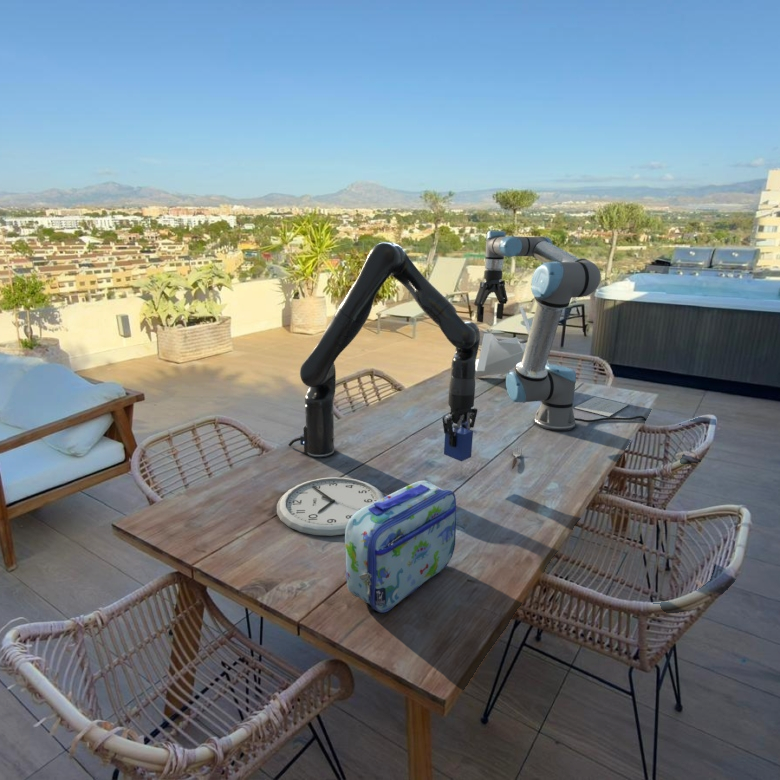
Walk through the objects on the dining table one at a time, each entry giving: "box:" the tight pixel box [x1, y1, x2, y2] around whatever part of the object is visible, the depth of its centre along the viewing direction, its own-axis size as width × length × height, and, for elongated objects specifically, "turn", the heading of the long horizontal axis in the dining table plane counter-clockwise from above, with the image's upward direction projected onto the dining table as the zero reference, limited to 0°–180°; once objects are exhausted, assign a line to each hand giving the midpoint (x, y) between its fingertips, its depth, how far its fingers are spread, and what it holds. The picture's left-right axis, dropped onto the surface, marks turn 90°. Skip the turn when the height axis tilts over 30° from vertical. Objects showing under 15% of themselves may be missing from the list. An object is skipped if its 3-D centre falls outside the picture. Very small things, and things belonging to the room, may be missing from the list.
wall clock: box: [276, 476, 386, 537], centre depth 142 cm, size 30×2×30 cm
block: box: [443, 426, 474, 462], centre depth 159 cm, size 5×7×9 cm
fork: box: [511, 445, 523, 470], centre depth 172 cm, size 3×16×2 cm, turn 160°
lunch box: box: [344, 480, 457, 614], centre depth 109 cm, size 26×11×21 cm, turn 135°
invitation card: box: [573, 396, 629, 418], centre depth 226 cm, size 21×1×15 cm
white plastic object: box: [475, 306, 550, 378], centre depth 259 cm, size 37×45×31 cm
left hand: (458, 443), depth 159 cm, fingers closed on block, 4 cm apart
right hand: (489, 320), depth 224 cm, fingers open, 13 cm apart
